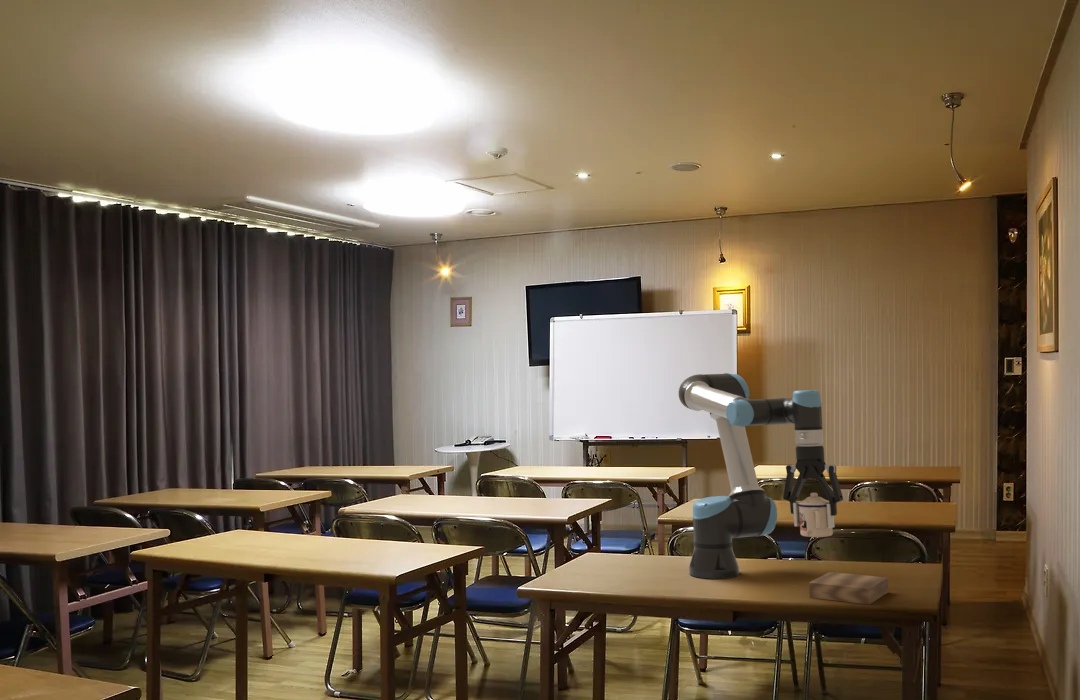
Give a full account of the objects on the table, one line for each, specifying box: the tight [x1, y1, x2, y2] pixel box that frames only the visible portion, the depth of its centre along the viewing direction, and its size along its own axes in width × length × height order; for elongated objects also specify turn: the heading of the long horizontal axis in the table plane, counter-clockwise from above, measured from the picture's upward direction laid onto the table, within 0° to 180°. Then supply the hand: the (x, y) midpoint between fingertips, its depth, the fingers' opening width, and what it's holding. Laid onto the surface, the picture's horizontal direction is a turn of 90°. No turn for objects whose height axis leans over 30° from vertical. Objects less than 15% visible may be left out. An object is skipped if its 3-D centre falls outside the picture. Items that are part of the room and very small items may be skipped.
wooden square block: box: [808, 571, 889, 605], centre depth 245 cm, size 16×16×4 cm
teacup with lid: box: [798, 492, 834, 538], centre depth 249 cm, size 12×9×12 cm
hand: (814, 526), depth 249 cm, fingers closed on teacup with lid, 9 cm apart
